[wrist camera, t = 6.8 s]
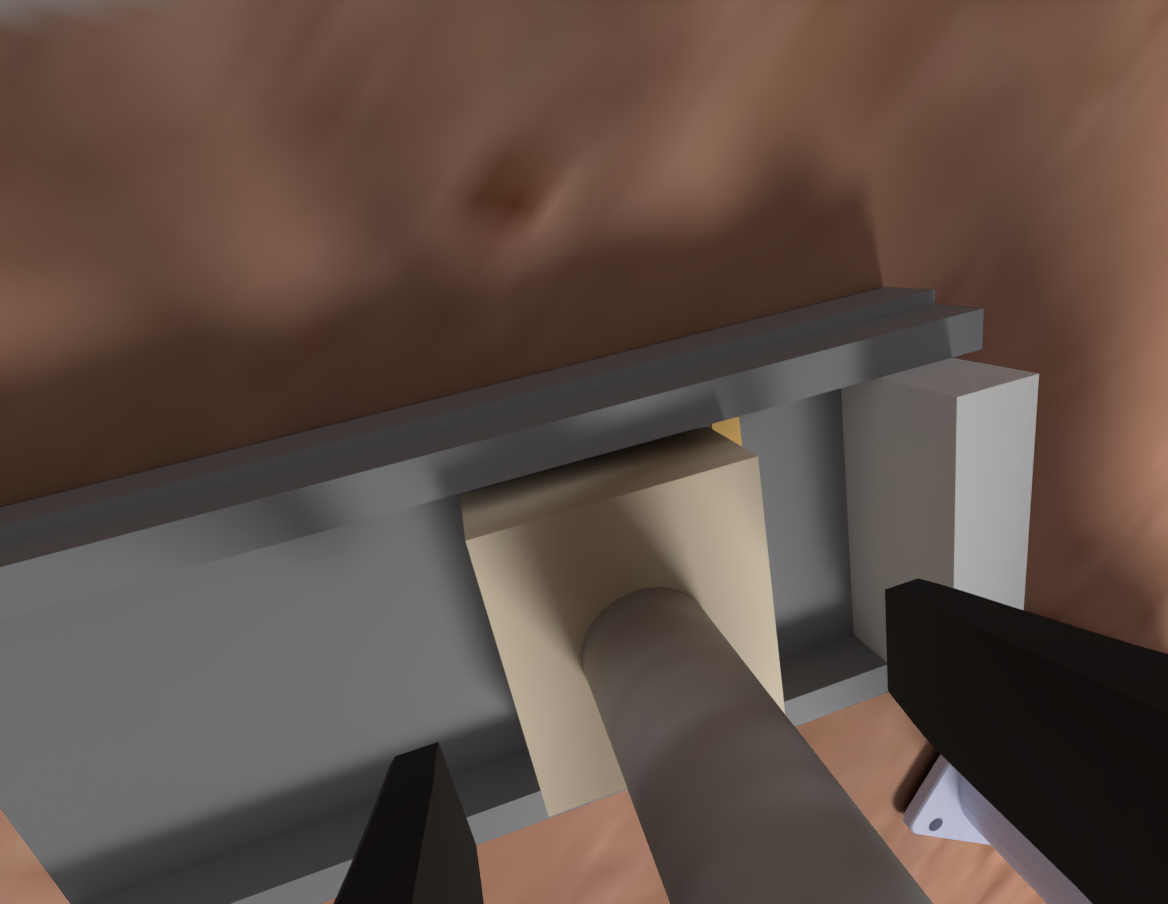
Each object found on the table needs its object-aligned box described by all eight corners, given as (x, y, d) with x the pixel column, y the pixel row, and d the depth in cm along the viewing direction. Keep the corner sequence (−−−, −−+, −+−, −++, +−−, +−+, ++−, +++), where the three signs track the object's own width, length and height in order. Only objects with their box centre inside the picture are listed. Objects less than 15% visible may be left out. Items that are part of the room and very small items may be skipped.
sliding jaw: (707, 425, 12) (1160, 695, 4) (739, 666, 14) (1088, 1125, 7) (460, 494, 11) (514, 957, 4) (532, 739, 13) (661, 1352, 6)
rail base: (884, 287, 14) (1079, 297, 10) (892, 609, 17) (1043, 723, 13) (-95, 530, 11) (-435, 702, 6) (133, 874, 14) (2, 1140, 10)
